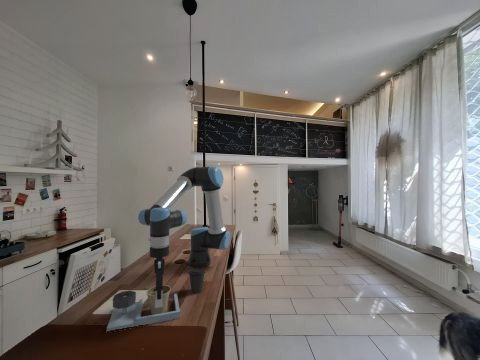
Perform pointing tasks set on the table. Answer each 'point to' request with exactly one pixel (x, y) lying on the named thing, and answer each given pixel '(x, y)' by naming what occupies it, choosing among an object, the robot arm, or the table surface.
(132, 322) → the tray
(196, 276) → the coffee cup
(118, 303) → the faceted octagonal hub
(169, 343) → the table surface
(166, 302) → the flower pot
